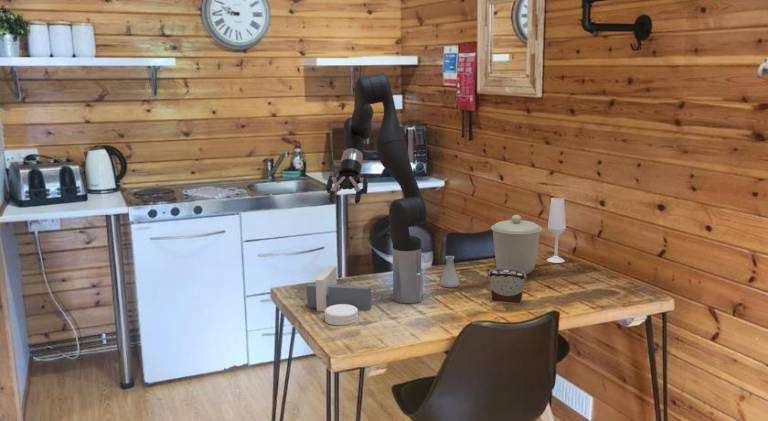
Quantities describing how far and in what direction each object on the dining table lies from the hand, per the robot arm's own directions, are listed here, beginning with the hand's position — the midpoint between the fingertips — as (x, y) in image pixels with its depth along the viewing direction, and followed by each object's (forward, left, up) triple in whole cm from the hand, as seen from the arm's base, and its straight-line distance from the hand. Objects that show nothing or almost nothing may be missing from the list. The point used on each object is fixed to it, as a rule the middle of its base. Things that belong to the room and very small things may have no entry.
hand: (344, 202), depth 241 cm
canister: (-58, -21, -29) cm, 68 cm away
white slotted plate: (+1, +22, -29) cm, 36 cm away
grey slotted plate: (-4, +26, -29) cm, 39 cm away
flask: (-36, -2, -29) cm, 46 cm away
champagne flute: (-73, -38, -29) cm, 87 cm away
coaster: (-7, +36, -29) cm, 47 cm away
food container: (-56, +11, -29) cm, 64 cm away
